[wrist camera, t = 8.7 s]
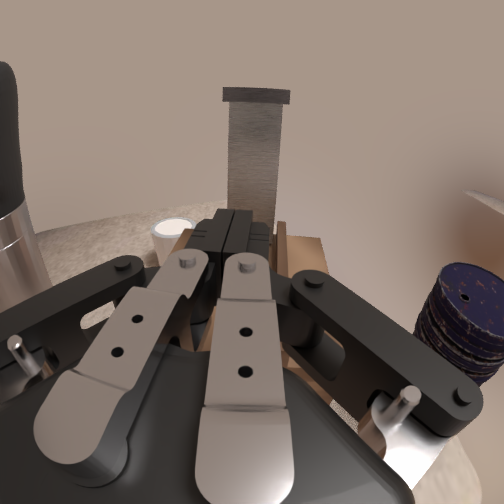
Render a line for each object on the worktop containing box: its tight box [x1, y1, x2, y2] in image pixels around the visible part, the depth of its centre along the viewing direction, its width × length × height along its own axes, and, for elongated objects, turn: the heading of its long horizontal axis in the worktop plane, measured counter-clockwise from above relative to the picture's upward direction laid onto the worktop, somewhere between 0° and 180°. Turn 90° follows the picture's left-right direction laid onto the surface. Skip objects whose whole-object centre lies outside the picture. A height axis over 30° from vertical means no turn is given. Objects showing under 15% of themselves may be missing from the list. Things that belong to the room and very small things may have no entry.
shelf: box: [167, 221, 344, 405], centre depth 25 cm, size 14×16×14 cm
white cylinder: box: [151, 217, 196, 266], centre depth 43 cm, size 7×7×7 cm
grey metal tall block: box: [223, 87, 290, 244], centre depth 25 cm, size 5×4×14 cm
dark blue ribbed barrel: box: [412, 262, 504, 387], centre depth 20 cm, size 10×10×15 cm
